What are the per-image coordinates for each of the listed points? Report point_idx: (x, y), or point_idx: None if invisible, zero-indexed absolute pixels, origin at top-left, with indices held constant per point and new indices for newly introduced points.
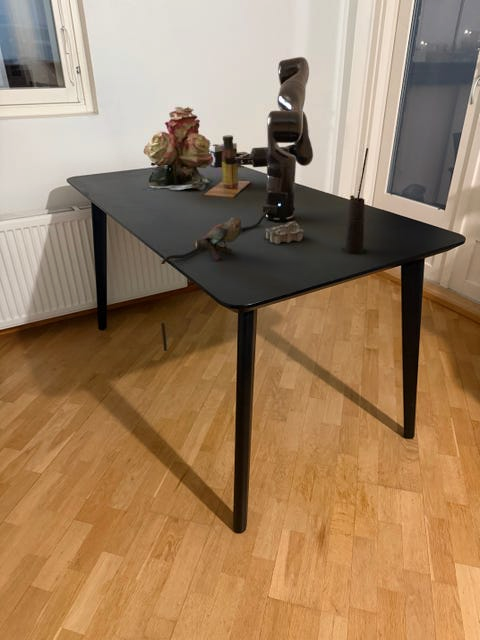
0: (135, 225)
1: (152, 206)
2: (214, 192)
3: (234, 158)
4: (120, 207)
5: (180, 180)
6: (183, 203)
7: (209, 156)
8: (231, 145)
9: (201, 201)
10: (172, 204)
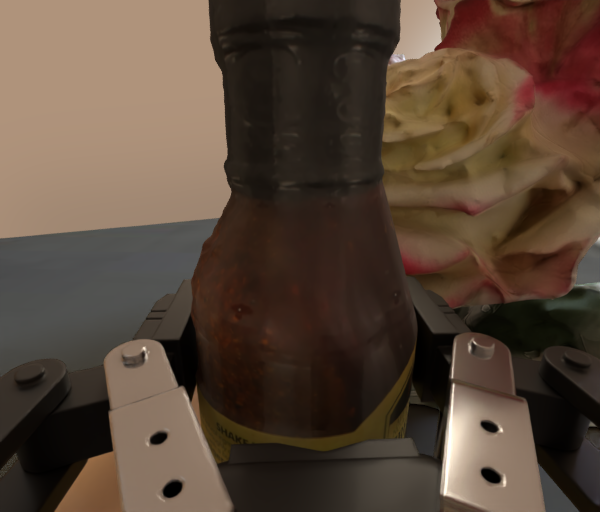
0: (4, 242)
1: (138, 261)
2: None
3: (154, 342)
4: (177, 231)
5: None
6: (105, 311)
7: (431, 245)
8: (232, 144)
9: (77, 359)
10: (120, 290)
